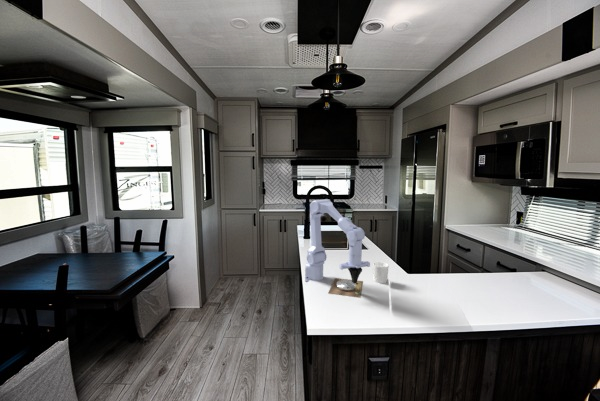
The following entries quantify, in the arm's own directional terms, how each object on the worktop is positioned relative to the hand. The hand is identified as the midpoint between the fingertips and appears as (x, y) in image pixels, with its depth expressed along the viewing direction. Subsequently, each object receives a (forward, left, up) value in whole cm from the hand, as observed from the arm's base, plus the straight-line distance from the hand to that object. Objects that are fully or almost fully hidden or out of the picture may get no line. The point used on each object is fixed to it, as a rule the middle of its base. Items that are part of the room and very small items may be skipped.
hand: (354, 282), depth 128 cm
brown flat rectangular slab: (-4, +7, -7) cm, 11 cm away
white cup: (+12, +20, -7) cm, 24 cm away
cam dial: (-3, +6, -6) cm, 8 cm away
